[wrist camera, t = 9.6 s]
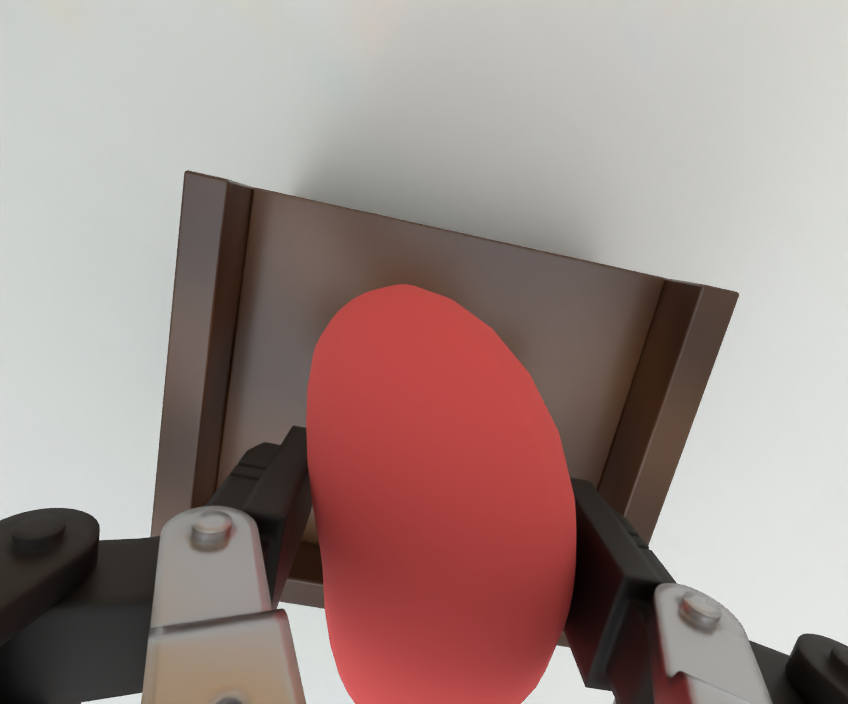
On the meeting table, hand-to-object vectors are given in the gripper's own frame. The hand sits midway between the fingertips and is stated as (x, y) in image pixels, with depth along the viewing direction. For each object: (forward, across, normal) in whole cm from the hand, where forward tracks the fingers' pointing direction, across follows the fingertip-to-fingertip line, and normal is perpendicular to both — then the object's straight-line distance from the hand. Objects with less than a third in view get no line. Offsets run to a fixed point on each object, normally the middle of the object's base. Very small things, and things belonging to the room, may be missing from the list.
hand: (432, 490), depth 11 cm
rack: (+15, 0, 0) cm, 15 cm away
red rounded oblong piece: (+1, 0, 0) cm, 1 cm away
